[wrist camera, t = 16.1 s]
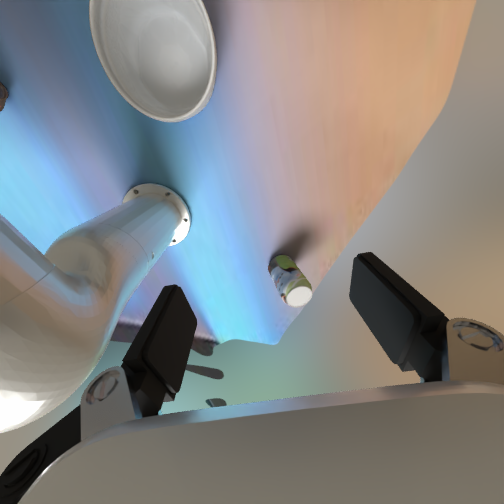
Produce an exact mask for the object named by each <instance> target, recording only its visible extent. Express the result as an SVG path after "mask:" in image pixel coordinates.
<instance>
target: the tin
mask: <svg viewBox="0 0 504 504" xmlns="http://www.w3.org/2000/svg"><path fill="white" fill-rule="evenodd" d="M7 98H8V92H7V90H6V88H5V87H4V86H3V84H2V83H1V82H0V111H2V110H3V108H4V106H5V102H6V99H7Z"/></svg>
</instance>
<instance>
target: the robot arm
mask: <svg viewBox="0 0 504 504" xmlns="http://www.w3.org/2000/svg"><path fill="white" fill-rule="evenodd" d="M137 190H138V191H137ZM168 192H169V193H170V194H168ZM186 218H187V219H188V220H187V219H186ZM190 226H191V216H190V212H189V209H188V207H187V205H186V204H185V202H184V201H183V200H182V198H181V197H180V196H179V195H178V194H177V193H175V192H174V191H172V190H171V189H169V188H167V187H165V186H163V185H159V184H154V183H146V184H141V185H138V186H136V187H133V188H132V189H131V190H129V191H128V192H127V194H126V195H125V197H124V199H123V202H122V204H121V205H119V206H117V207H115V208H113V209H111V210H109V211H107V212H105V213H103V214H101V215H99V216H97V217H95V218H92V219H90V220H88V221H86V222H84V223H82V224H80V225H78V226H76V227H74V228H72V229H70V230H68V231H66V232H65V233H63V234H62V235H61V236H59V237H58V238H57V239H56V240H55V241H54V242H53V243H52V245H51V246H50V247H49V248H48V250H47V251H46V253H45V255H43V254H42V253H41V252H40V251H39V250H38V249H37V248H36V247H35V246H34V245H33V244H32V243H31V242H29V241H28V240H27V239H26V238H25V237H24V236H23V235H22V234H21V233H20V232H19V231H18V230H17V229H16V228H15V227H14V226H13V225H12V224H11V223H10V222H9V221H8V220H7V219H6V218H5V217H3V216H2V215H1V214H0V433H3V432H7V431H10V430H13V429H17V428H19V427H22V426H24V425H26V424H28V423H30V422H32V421H34V420H37V419H38V418H40V417H42V416H44V415H45V414H47V413H48V412H50V411H52V410H53V409H54V408H56V407H57V406H58V405H60V404H61V403H62V402H63V401H65V400H66V399H67V398H68V397H69V396H70V395H71V394H72V393H73V392H74V391H76V389H78V388H79V386H80V385H81V384H82V383H83V382H84V381H85V380H86V378H87V377H88V376H89V375H90V373H91V372H92V371H93V369H94V368H95V366H96V365H97V363H98V362H99V360H100V358H101V357H102V355H103V353H104V351H105V349H106V347H107V345H108V343H109V341H110V339H111V337H112V334H113V332H114V329H115V327H116V325H117V322H118V320H119V318H120V316H121V313H122V312H123V310H124V308H125V306H126V304H127V303H128V301H129V299H130V298H131V296H132V295H133V293H134V292H135V291H136V289H137V288H138V286H139V285H140V284H141V282H142V281H143V280H144V278H145V277H146V275H147V274H148V273H149V271H150V270H151V269H152V267H153V266H154V265H155V263H156V262H157V261H158V259H159V258H160V257H161V255H162V254H163V253H164V251H165V250H166V249H167V247H168V246H172V245H175V244H177V243H179V242H181V241H182V240H183V239H184V238H185V237H186V235H187V234H188V232H189V230H190ZM349 297H350V300H351V302H352V304H353V305H354V307H355V308H356V309H357V311H358V312H359V314H360V315H361V317H362V318H363V320H364V321H365V323H366V324H367V326H368V327H369V329H370V330H371V332H372V333H373V335H374V336H375V338H376V339H377V340H378V342H379V343H380V345H381V346H382V348H383V349H384V351H385V352H386V354H387V355H388V357H389V358H390V360H391V361H392V362H393V363H394V364H398V366H399V367H400V369H401V370H402V371H403V372H404V371H412V370H416V372H417V373H418V375H419V376H420V383H416V384H405V385H395V386H385V387H377V388H369V389H360V390H352V391H343V392H335V393H326V394H318V395H310V396H302V397H295V398H285V399H277V400H269V401H261V402H253V403H246V404H237V405H230V406H222V407H214V408H206V409H199V410H191V411H184V412H177V413H170V414H162V412H161V406H162V404H163V402H169V401H174V399H175V395H176V393H177V392H179V390H180V387H181V384H182V380H183V376H184V372H185V368H186V365H187V361H188V357H189V353H190V349H191V346H192V342H193V338H194V334H195V330H196V327H197V319H196V317H195V315H194V313H193V311H192V309H191V307H190V305H189V303H188V301H187V299H186V297H185V295H184V293H183V291H182V289H181V287H178V286H177V285H169V286H165V287H164V288H163V289H162V291H161V293H160V295H159V296H158V298H157V300H156V302H155V304H154V305H153V307H152V309H151V311H150V312H149V314H148V316H147V318H146V319H145V321H144V323H143V325H142V327H141V328H140V330H139V332H138V334H137V335H136V337H135V339H134V341H133V343H132V344H131V346H130V348H129V350H128V351H127V353H126V355H125V357H124V358H123V360H122V361H123V363H122V365H121V367H119V366H114V367H111V368H108V369H106V370H105V371H103V372H101V373H100V374H99V375H98V376H96V377H95V378H94V379H93V380H92V381H91V382H90V384H89V385H88V387H87V388H86V389H85V391H84V393H83V395H82V397H81V404H80V405H79V406H78V407H76V408H75V409H74V410H73V411H71V412H70V413H69V414H68V415H67V416H65V417H64V418H62V419H61V420H60V421H59V422H57V423H56V424H55V425H54V426H52V427H51V428H50V429H49V430H47V431H46V432H45V433H43V434H42V435H41V436H40V437H38V438H37V439H36V440H35V441H33V442H32V443H31V444H30V445H28V446H27V447H26V448H25V449H24V450H23V451H21V452H20V453H19V454H18V455H17V456H16V457H15V458H14V459H13V460H12V462H11V463H10V464H9V465H8V466H7V467H6V469H5V470H4V472H3V473H2V474H1V476H0V504H504V336H503V335H502V334H501V333H500V332H498V331H497V330H495V329H494V328H492V327H490V326H488V325H486V324H484V323H482V322H478V321H476V320H472V319H467V318H454V319H451V320H449V319H448V318H447V317H446V316H444V313H443V312H441V311H440V310H439V309H438V308H437V307H436V306H434V305H433V304H432V303H431V302H429V301H428V300H427V299H426V298H425V297H424V296H423V295H421V294H420V293H419V292H418V291H417V290H415V289H414V288H413V287H412V286H411V285H410V284H408V283H407V282H406V281H405V280H404V279H403V278H401V277H400V276H399V275H398V274H397V273H395V272H394V271H393V270H392V269H391V268H389V267H388V266H387V265H386V264H385V263H384V262H383V261H381V260H380V259H379V258H378V257H377V256H375V255H374V254H373V253H372V252H366V253H360V254H358V255H357V257H355V258H354V261H353V270H352V278H351V286H350V294H349Z"/></svg>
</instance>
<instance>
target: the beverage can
mask: <svg viewBox="0 0 504 504" xmlns="http://www.w3.org/2000/svg"><path fill="white" fill-rule="evenodd" d="M268 271H269V273H270V275H271V277H272V279H273V281H274V284H275V286H276V288H277V290H278V292H279V294H280V296H281V298H282V300H283V301H284V302H285V303H286V304H288V305H289V306H291V307H301V306H304V305H305V304H307V303H308V302H309V301H310V299H311V297H312V287H311V284H310V283H309V281H308V280H307V279H306V277H305V276H304V275H303V273H302V272H301V271H300V269H299V268H298V267H297V266H296V264H295V263H294V262H293V260H292V259H291V258H290V257H289V256H286V255H279V256H277V257H275V258H273V259H272V260H271V261H270V263H269V266H268Z"/></svg>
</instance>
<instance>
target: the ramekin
mask: <svg viewBox="0 0 504 504" xmlns="http://www.w3.org/2000/svg"><path fill="white" fill-rule="evenodd" d="M89 20H90V29H91V34H92V38H93V43H94V46H95V49H96V52H97V55H98V57H99V60H100V62H101V64H102V66H103V69H104V70H105V72H106V74H107V76H108V78H109V79H110V81H111V82H112V84H113V85H114V87H115V88H116V89H117V91H118V92H119V93H120V94H121V96H122V97H123V98H124V99H125V100H126V101H127V102H128V103H129V104H130V105H132V106H133V107H134V108H135V109H137V110H138V111H139V112H141V113H143V114H144V115H146V116H148V117H150V118H153V119H155V120H158V121H163V122H180V121H184V120H187V119H189V118H191V117H193V116H195V115H196V114H198V113H199V112H200V111H202V110H203V108H204V107H206V105H207V103H208V102H209V100H210V97H211V96H212V92H213V90H214V85H215V78H216V69H217V52H216V43H215V37H214V32H213V29H212V25H211V22H210V19H209V16H208V13H207V11H206V8H205V6H204V3H203V1H202V0H90V1H89Z"/></svg>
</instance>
